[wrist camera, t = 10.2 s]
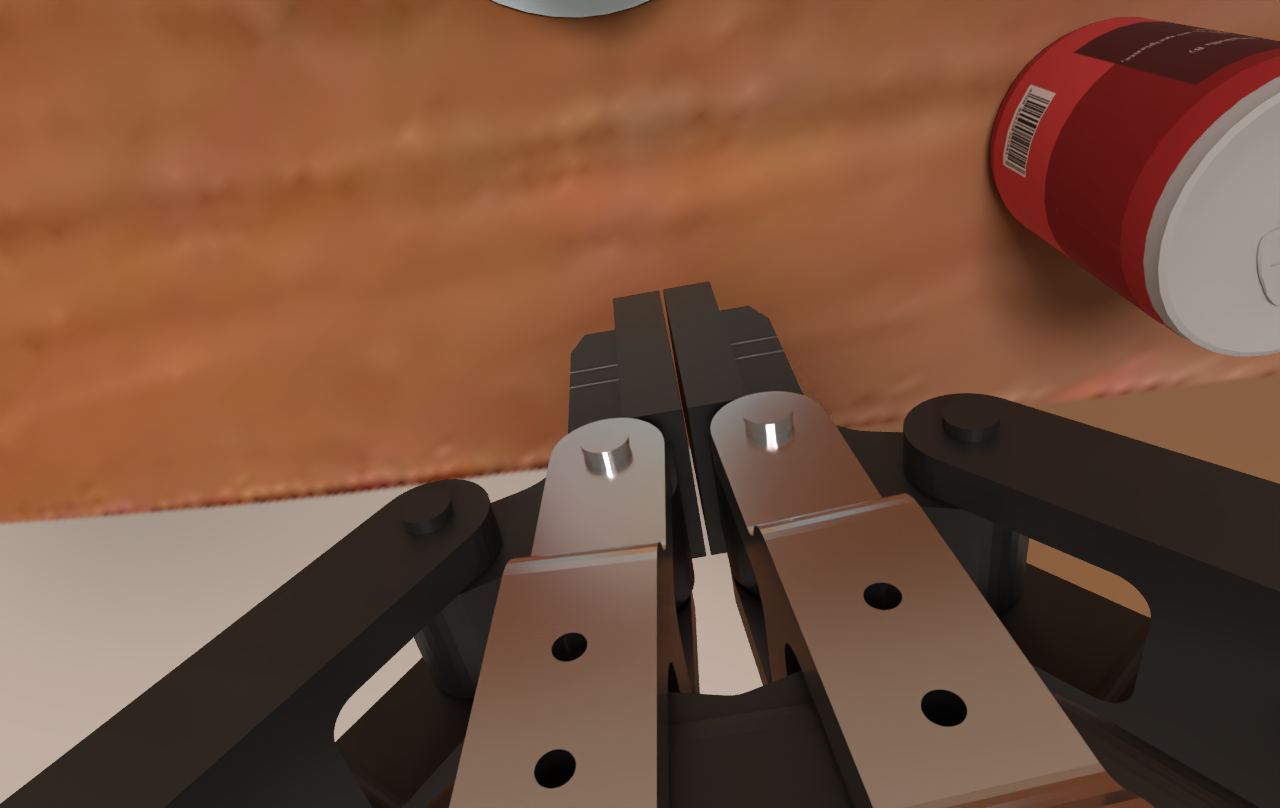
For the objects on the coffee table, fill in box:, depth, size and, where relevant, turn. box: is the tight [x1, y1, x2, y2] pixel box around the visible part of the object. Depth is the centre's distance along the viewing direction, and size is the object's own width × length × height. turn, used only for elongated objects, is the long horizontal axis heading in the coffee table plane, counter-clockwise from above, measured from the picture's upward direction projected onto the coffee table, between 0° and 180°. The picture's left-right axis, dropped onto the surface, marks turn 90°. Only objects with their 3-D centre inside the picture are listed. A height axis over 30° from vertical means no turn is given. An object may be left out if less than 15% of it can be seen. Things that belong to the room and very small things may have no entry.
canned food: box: [991, 17, 1280, 356], centre depth 26 cm, size 8×8×11 cm
